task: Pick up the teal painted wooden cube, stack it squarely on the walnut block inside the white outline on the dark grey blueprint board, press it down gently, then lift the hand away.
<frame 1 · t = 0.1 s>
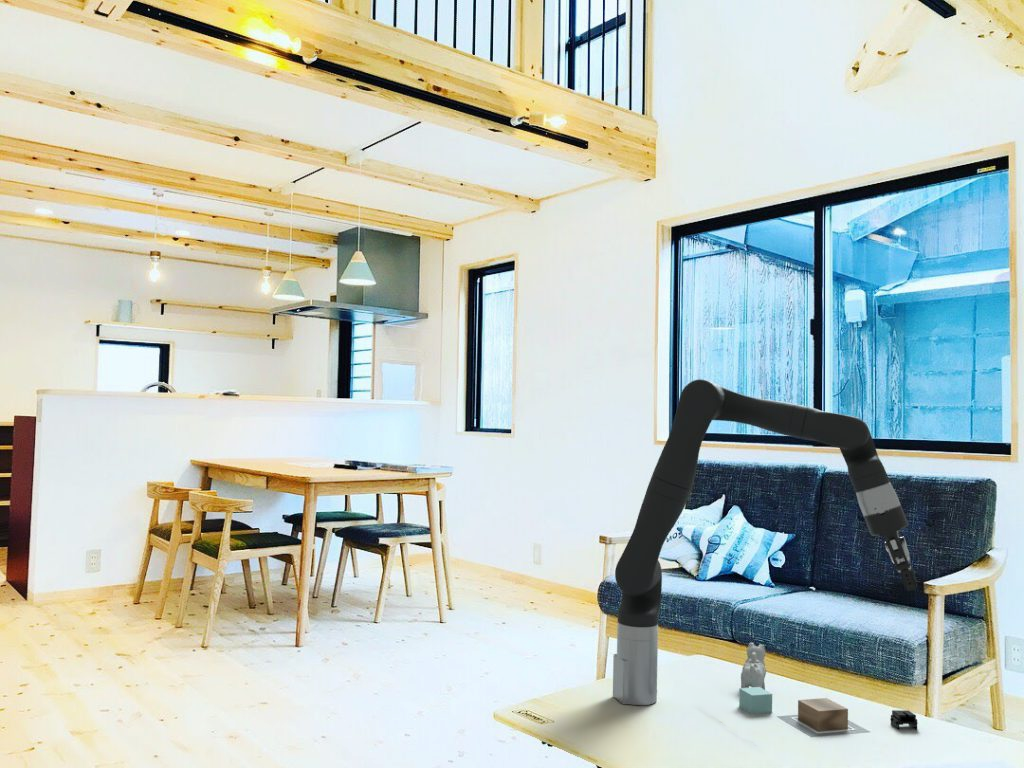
hand: (912, 586, 169), 31 cm above the table, tool tilted 20°, fingers open, 8 cm apart
teal cube: (755, 714, 183), on the table
dog figurine: (752, 692, 198), on the table
walnut block: (822, 723, 175), point 1 cm above the table, touching blueprint board
black boxy piece: (903, 735, 174), on the table
blueprint board: (822, 728, 175), on the table
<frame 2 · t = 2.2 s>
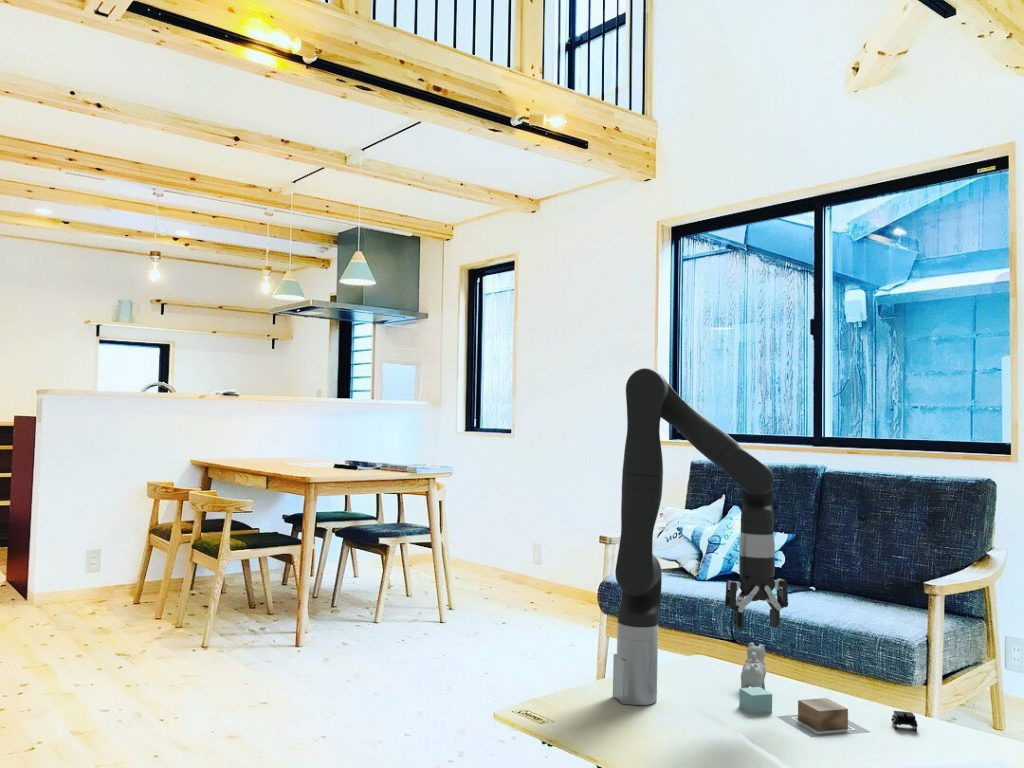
hand: (756, 628, 184), 19 cm above the table, tool pointing down, fingers open, 8 cm apart
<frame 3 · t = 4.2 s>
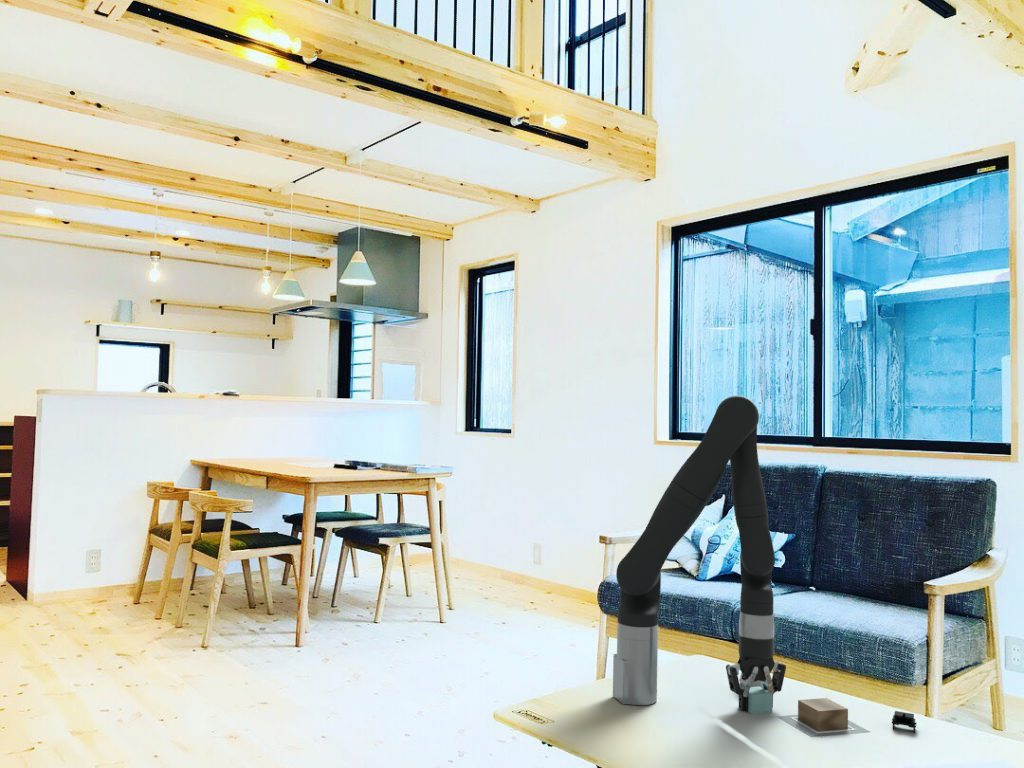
hand: (755, 711, 183), 0 cm above the table, tool pointing down, fingers closed on teal cube, 5 cm apart
teal cube: (755, 713, 183), on the table, touching gripper
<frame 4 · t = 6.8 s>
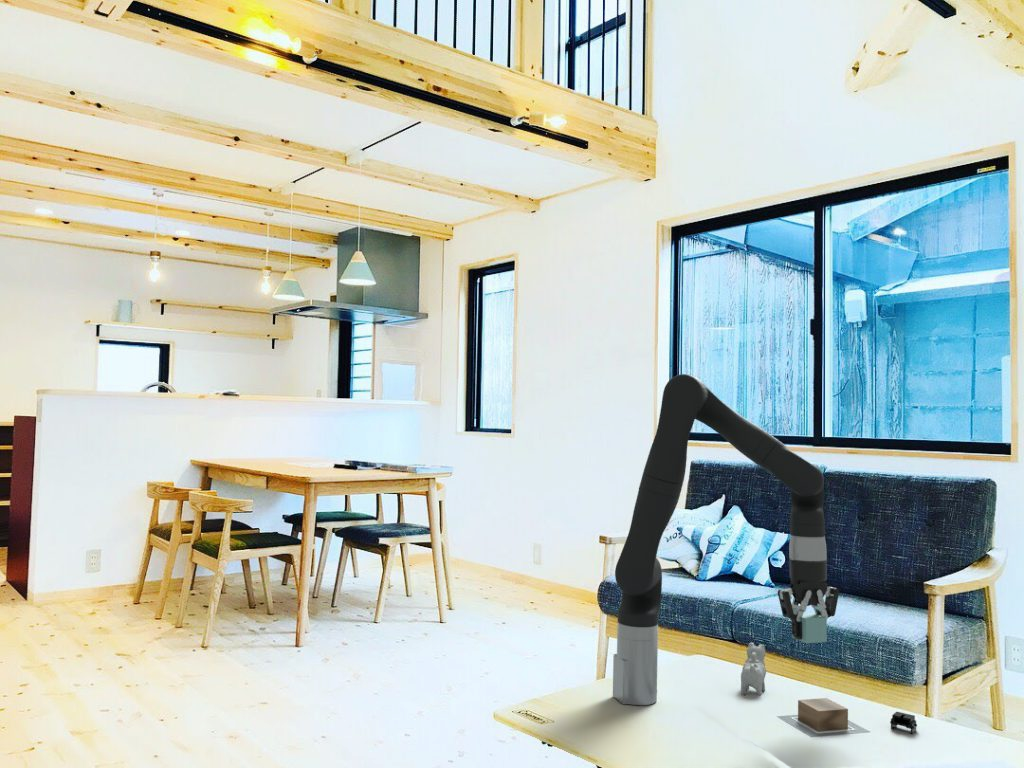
hand: (809, 637, 177), 18 cm above the table, tool pointing down, fingers closed on teal cube, 5 cm apart
teal cube: (809, 639, 177), point 18 cm above the table, touching gripper
when the fingers open (6 cm above the table, at t = 9.2 s): teal cube stays where it is, resting on walnut block.
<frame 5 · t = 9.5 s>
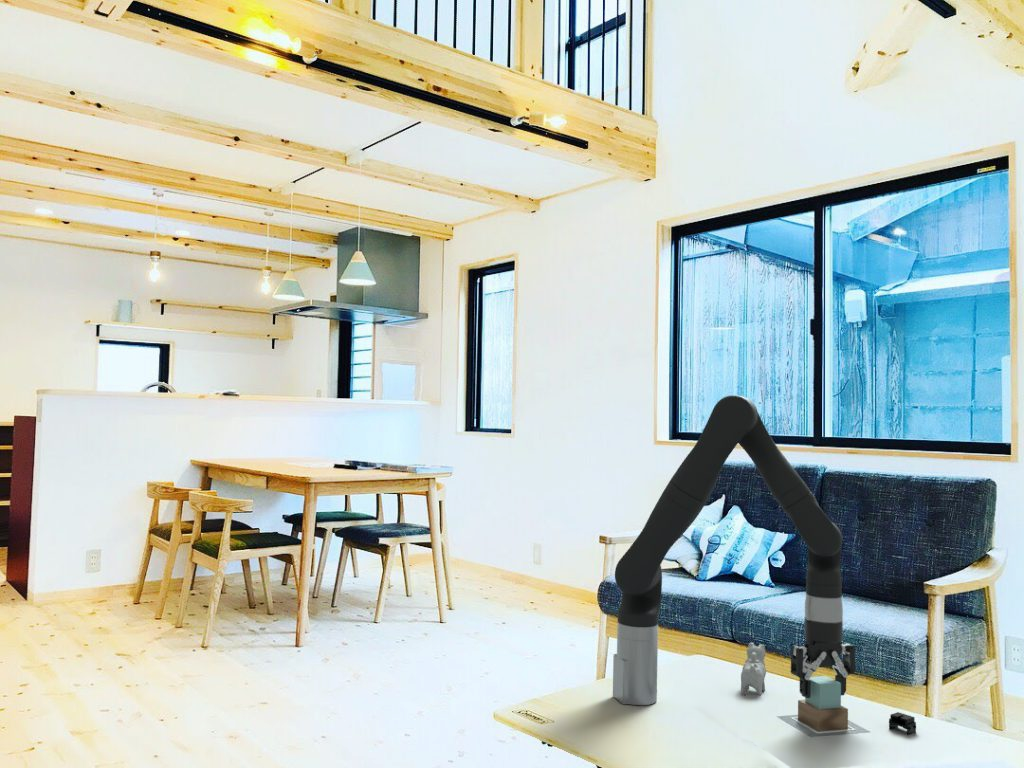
hand: (822, 695, 175), 7 cm above the table, tool pointing down, fingers open, 8 cm apart
teal cube: (822, 704, 175), point 5 cm above the table, touching walnut block
walnut block: (822, 723, 175), point 1 cm above the table, touching blueprint board, teal cube
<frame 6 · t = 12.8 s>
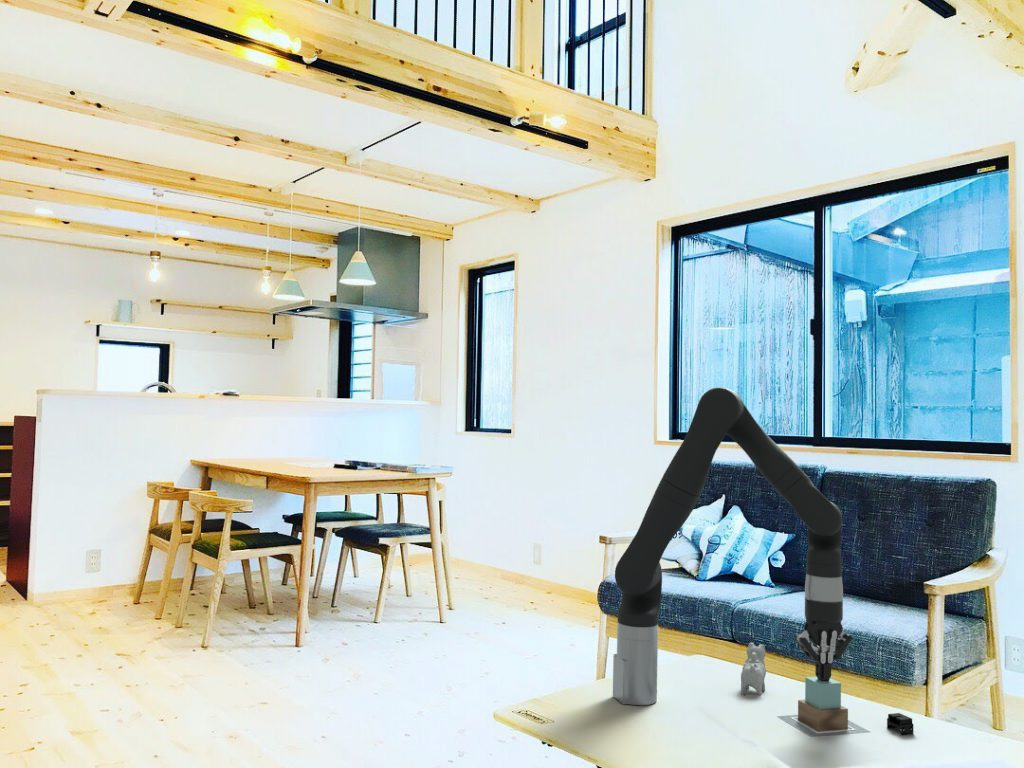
hand: (823, 680, 175), 10 cm above the table, tool pointing down, fingers closed
teal cube: (822, 704, 175), point 5 cm above the table, touching gripper, walnut block
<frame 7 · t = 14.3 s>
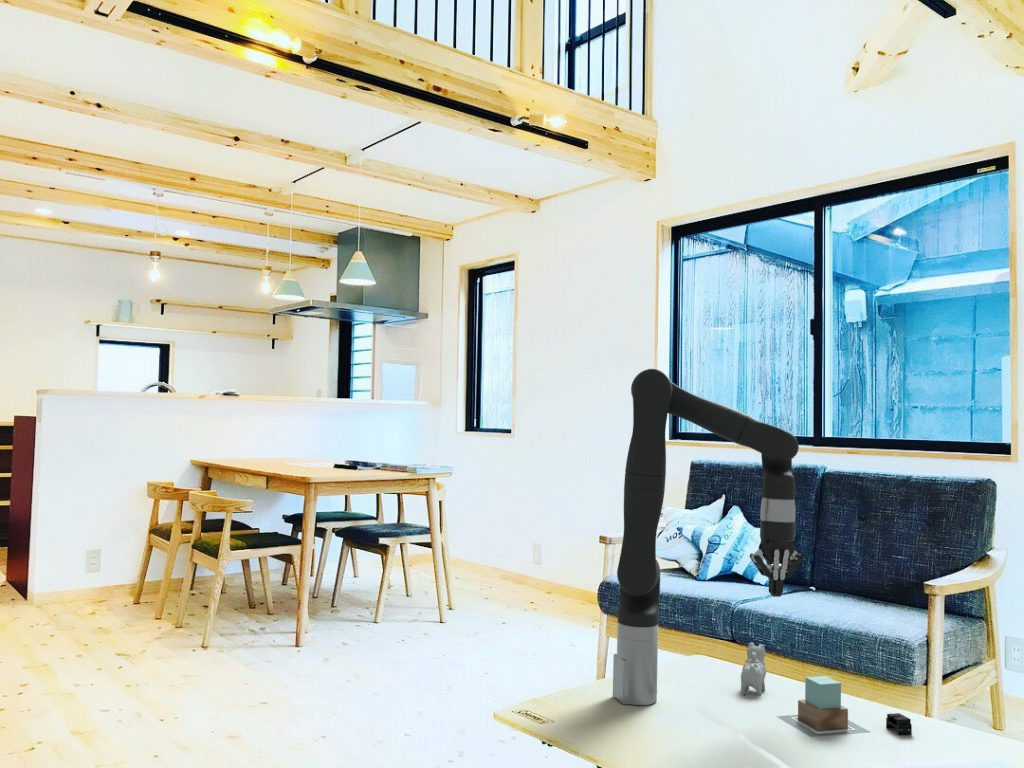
hand: (775, 595, 188), 25 cm above the table, tool pointing down, fingers closed
teal cube: (822, 704, 175), point 5 cm above the table, touching walnut block
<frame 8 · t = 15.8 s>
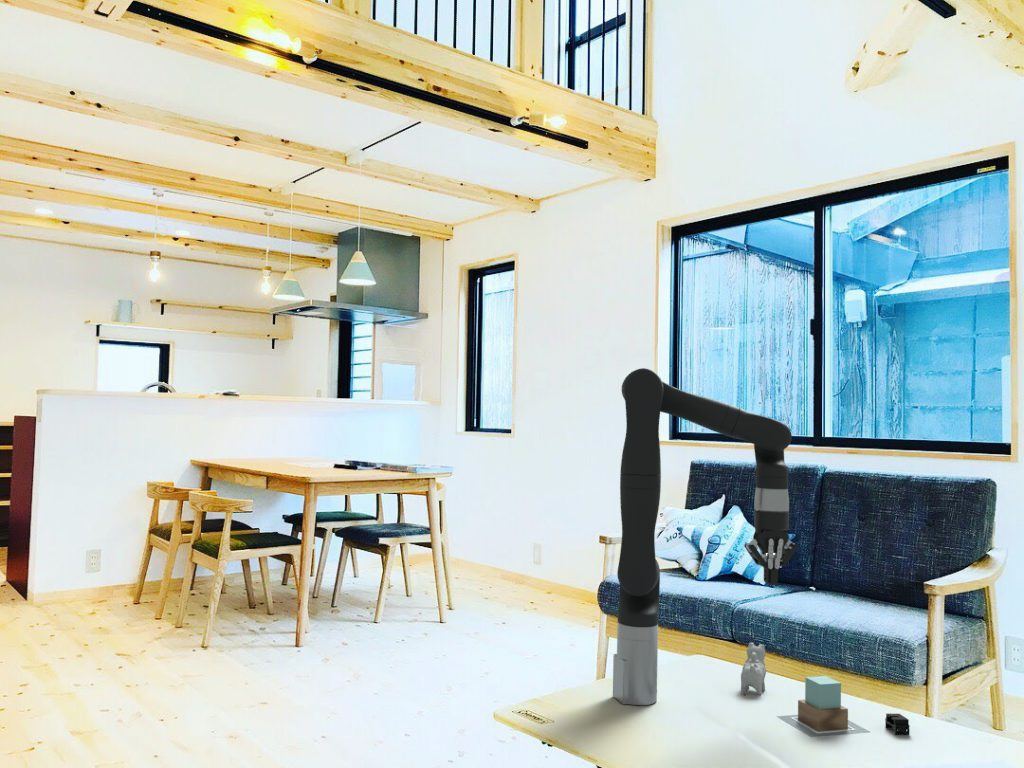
hand: (770, 584, 190), 27 cm above the table, tool pointing down, fingers closed
at the end: teal cube 0.0 cm off-centre on the walnut block, point 4.0 cm above the walnut block's base; walnut block 0.0 cm off-centre on the blueprint board, point 1.0 cm above the blueprint board's base; teal cube tilted 0° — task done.
